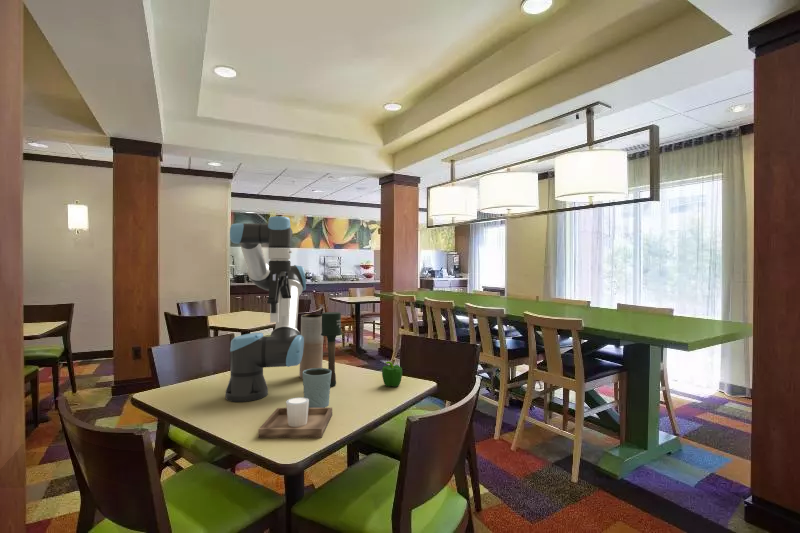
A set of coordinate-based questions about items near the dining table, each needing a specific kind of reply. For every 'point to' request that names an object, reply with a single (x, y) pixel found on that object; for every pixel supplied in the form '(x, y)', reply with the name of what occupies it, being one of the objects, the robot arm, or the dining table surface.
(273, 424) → the tray
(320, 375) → the blue cup
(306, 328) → the vase
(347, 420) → the dining table surface
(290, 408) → the white cup
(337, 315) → the stick grenade
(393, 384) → the bell pepper
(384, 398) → the dining table surface
